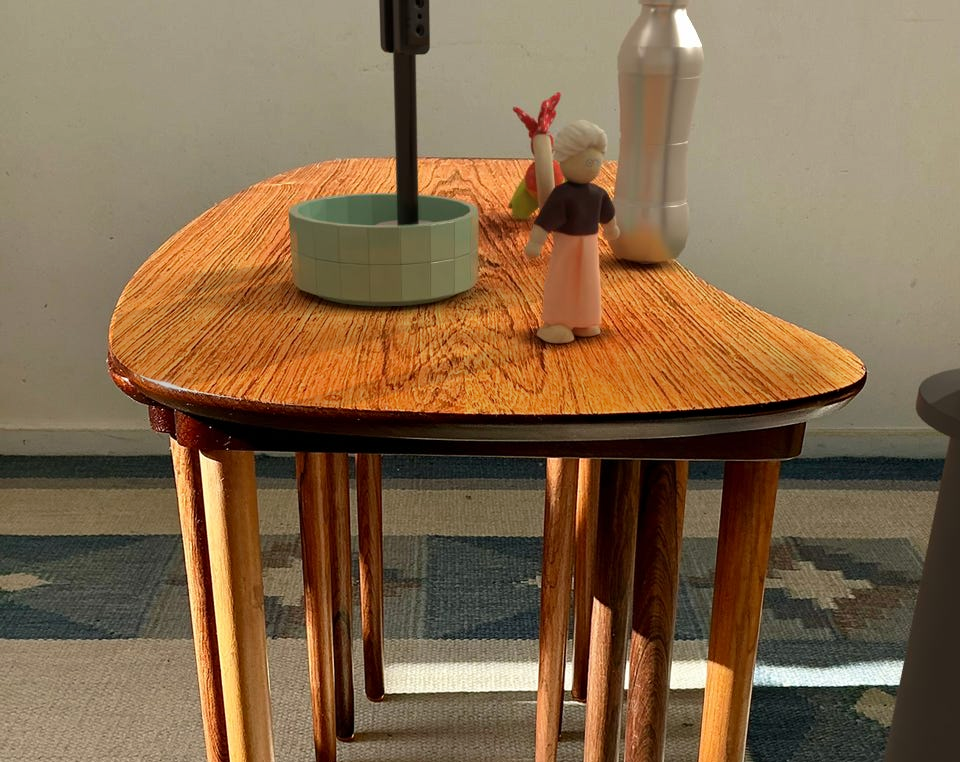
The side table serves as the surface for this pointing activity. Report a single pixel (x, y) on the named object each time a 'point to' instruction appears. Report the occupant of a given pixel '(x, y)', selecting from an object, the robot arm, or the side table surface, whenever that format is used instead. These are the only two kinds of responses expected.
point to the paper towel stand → (405, 137)
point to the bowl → (383, 249)
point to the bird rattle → (538, 162)
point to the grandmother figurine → (574, 236)
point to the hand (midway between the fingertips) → (404, 52)
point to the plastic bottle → (655, 131)
